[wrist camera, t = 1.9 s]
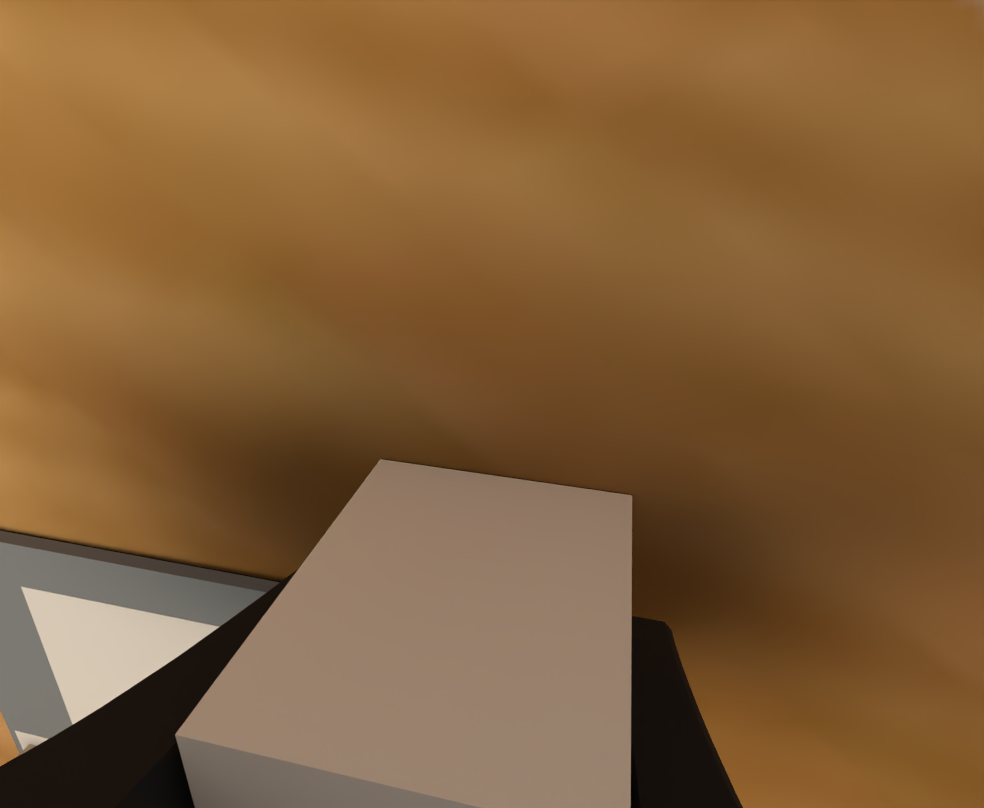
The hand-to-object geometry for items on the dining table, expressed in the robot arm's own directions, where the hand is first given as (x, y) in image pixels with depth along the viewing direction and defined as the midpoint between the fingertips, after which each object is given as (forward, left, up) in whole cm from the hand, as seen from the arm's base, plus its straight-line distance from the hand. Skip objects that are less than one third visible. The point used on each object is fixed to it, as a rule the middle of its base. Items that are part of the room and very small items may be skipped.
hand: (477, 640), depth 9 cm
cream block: (0, 0, -1) cm, 1 cm away
